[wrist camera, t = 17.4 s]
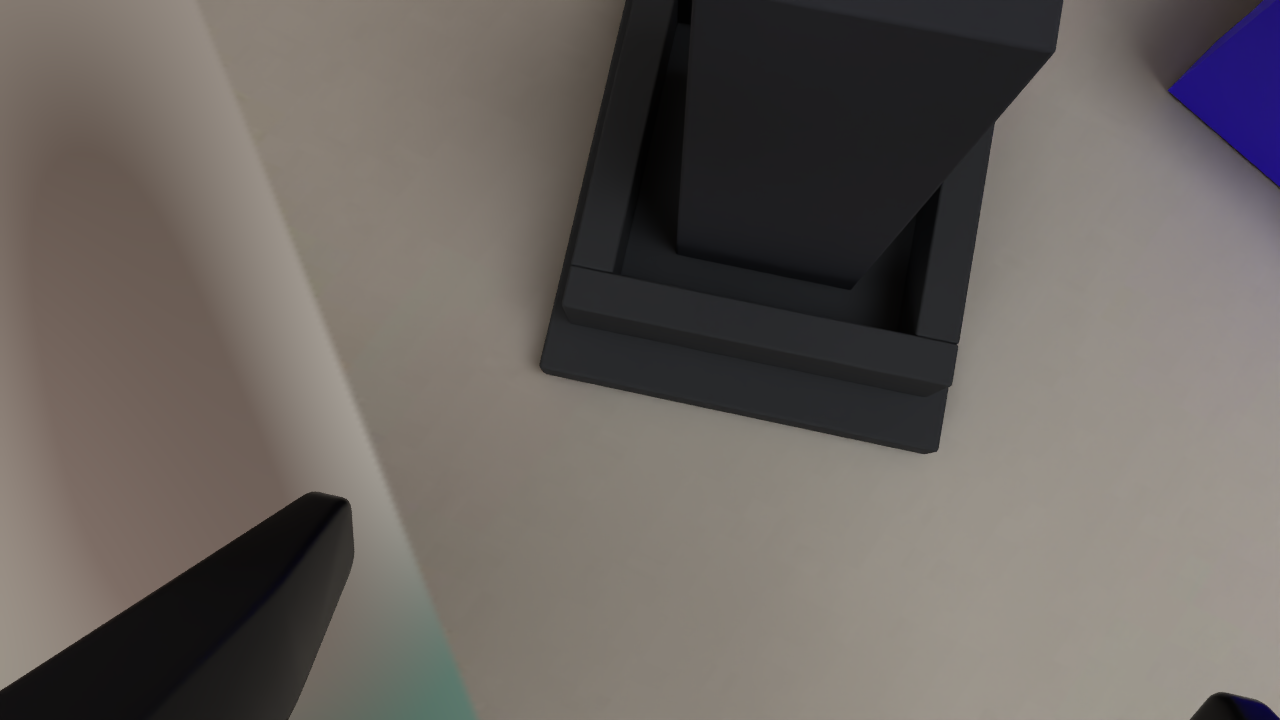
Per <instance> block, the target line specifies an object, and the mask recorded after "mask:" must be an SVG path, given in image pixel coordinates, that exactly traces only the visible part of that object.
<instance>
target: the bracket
mask: <svg viewBox="0 0 1280 720" xmlns="http://www.w3.org/2000/svg"><path fill="white" fill-rule="evenodd" d="M1168 91H1169V92H1170V93H1171V94H1173V95H1174V96H1175V97H1176V98H1177V99H1178V100H1179V101H1181V102H1182V103H1183V104H1184V105H1185V106H1186V107H1188V108H1189V109H1190V110H1191V111H1192V112H1193V113H1195V114H1196V115H1197V116H1198V117H1199V118H1200V119H1201V120H1203V121H1204V122H1205V123H1206V124H1207V125H1208V126H1210V127H1211V128H1212V129H1213V130H1214V131H1215V132H1217V133H1218V134H1219V135H1220V136H1221V137H1222V138H1223V139H1225V140H1226V141H1227V142H1228V143H1229V144H1230V145H1232V146H1233V147H1234V148H1235V149H1236V150H1237V151H1239V152H1240V153H1241V154H1242V155H1243V156H1244V157H1246V158H1247V159H1248V160H1249V161H1250V162H1251V163H1252V164H1254V165H1255V166H1256V167H1257V168H1258V169H1259V170H1261V171H1262V172H1263V173H1264V174H1265V175H1266V176H1268V177H1269V178H1270V179H1271V180H1272V181H1273V182H1274V183H1276V184H1277V185H1278V186H1279V187H1280V0H1263V1H1262V2H1261V3H1260V4H1259V5H1258V6H1257V7H1256V8H1255V9H1254V10H1253V11H1251V12H1250V13H1249V14H1248V15H1247V16H1246V17H1244V18H1243V19H1242V20H1241V21H1240V22H1238V23H1237V24H1236V25H1235V26H1234V27H1233V28H1231V29H1230V30H1229V31H1228V32H1227V33H1225V34H1224V35H1223V36H1222V37H1221V38H1220V39H1218V40H1217V41H1216V42H1215V43H1214V44H1213V45H1212V46H1211V47H1210V48H1209V49H1208V50H1207V51H1206V52H1205V53H1204V54H1203V55H1202V56H1201V57H1200V58H1199V59H1198V60H1197V61H1196V62H1195V63H1194V64H1193V65H1192V66H1191V67H1190V68H1189V69H1188V70H1187V71H1186V72H1185V73H1184V74H1183V75H1182V76H1181V77H1180V78H1179V79H1178V80H1177V81H1176V82H1175V83H1174V84H1173V85H1172V86H1171V87H1170V88H1169V89H1168Z"/></svg>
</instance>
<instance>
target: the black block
mask: <svg viewBox="0 0 1280 720" xmlns="http://www.w3.org/2000/svg"><path fill="white" fill-rule="evenodd" d="M1062 5H1063V0H692V16H691V31H690V46H689V61H688V77H687V92H686V107H685V122H684V138H683V153H682V168H681V183H680V199H679V214H678V229H677V244H676V254H678V255H682V256H687V257H691V258H696V259H701V260H706V261H711V262H716V263H721V264H726V265H730V266H735V267H740V268H745V269H750V270H755V271H760V272H765V273H769V274H774V275H779V276H784V277H789V278H794V279H799V280H804V281H808V282H813V283H818V284H823V285H828V286H833V287H838V288H843V289H848V290H851V289H852V288H853V287H854V286H855V285H856V284H857V282H858V281H859V280H860V279H861V278H862V277H863V275H864V274H865V273H866V272H867V271H868V270H869V268H870V267H871V266H872V265H873V264H874V263H875V261H876V260H877V259H878V258H879V257H880V256H881V254H882V253H883V252H884V251H885V250H886V249H887V247H888V246H889V245H890V244H891V243H892V242H893V240H894V239H895V238H896V237H897V236H898V235H899V233H900V232H901V231H902V230H903V229H904V228H905V226H906V225H907V224H908V223H909V222H910V221H911V219H912V218H913V217H914V216H915V215H916V214H917V212H918V211H919V210H920V209H921V208H922V207H923V205H924V204H925V203H926V202H927V201H928V200H929V198H930V197H931V196H932V195H933V194H934V193H935V191H936V190H937V189H938V188H939V187H940V186H941V184H942V183H943V182H944V181H945V180H946V179H947V177H948V176H949V175H950V174H951V173H952V172H953V170H954V169H955V168H956V167H957V166H958V165H959V163H960V162H961V161H962V160H963V159H964V158H965V156H966V155H967V154H968V153H969V152H970V151H971V149H972V148H973V147H974V146H975V145H976V143H977V142H978V141H979V140H980V139H981V138H982V136H983V135H984V134H985V133H986V132H987V131H988V129H989V128H990V127H991V126H992V125H993V124H994V122H995V121H996V120H997V119H998V118H999V117H1000V115H1001V114H1002V113H1003V112H1004V111H1005V110H1006V108H1007V107H1008V106H1009V105H1010V104H1011V103H1012V101H1013V100H1014V99H1015V98H1016V97H1017V96H1018V94H1019V93H1020V92H1021V91H1022V90H1023V89H1024V87H1025V86H1026V85H1027V84H1028V83H1029V82H1030V80H1031V79H1032V78H1033V77H1034V76H1035V75H1036V73H1037V72H1038V71H1039V70H1040V69H1041V68H1042V66H1043V65H1044V64H1045V63H1046V62H1047V61H1048V59H1049V58H1050V57H1051V56H1052V55H1053V53H1054V52H1055V50H1056V44H1057V38H1058V31H1059V25H1060V18H1061V12H1062Z"/></svg>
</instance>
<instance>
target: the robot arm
mask: <svg viewBox="0 0 1280 720" xmlns="http://www.w3.org/2000/svg"><path fill="white" fill-rule="evenodd" d="M353 559H354V539H353V526H352V511H351V505H350V503H349V501H348V500H347V499H345V498H343V497H338V496H334V495H329V494H325V493H321V492H310V493H307V494H305V495H303V496H302V497H300V498H298V499H297V500H295V501H294V502H292V503H291V504H289V505H288V506H286V507H285V508H283V509H282V510H280V511H278V512H277V513H275V514H274V515H272V516H271V517H269V518H267V519H266V520H264V521H263V522H261V523H260V524H258V525H257V526H255V527H254V528H252V529H250V530H249V531H247V532H246V533H244V534H243V535H241V536H240V537H238V538H236V539H235V540H233V541H232V542H230V543H229V544H227V545H226V546H224V547H223V548H221V549H219V550H218V551H216V552H215V553H213V554H212V555H210V556H209V557H207V558H206V559H204V560H202V561H201V562H200V563H198V564H196V565H195V566H193V567H192V568H190V569H188V570H187V571H185V572H184V573H182V574H181V575H179V576H178V577H176V578H174V579H173V580H171V581H170V582H168V583H167V584H165V585H164V586H162V587H160V588H159V589H157V590H156V591H154V592H153V593H151V594H150V595H148V596H147V597H145V598H144V599H142V600H140V601H139V602H137V603H136V604H134V605H133V606H131V607H130V608H128V609H127V610H125V611H123V612H122V613H120V614H119V615H117V616H116V617H114V618H112V619H111V620H109V621H108V622H106V623H105V624H103V625H102V626H100V627H98V628H97V629H95V630H94V631H92V632H91V633H90V634H88V635H86V636H85V637H83V638H81V639H80V640H78V641H77V642H75V643H74V644H72V645H71V646H69V647H67V648H66V649H64V650H63V651H61V652H60V653H58V654H57V655H55V656H54V657H52V658H50V659H49V660H47V661H46V662H44V663H43V664H41V665H40V666H38V667H37V668H35V669H34V670H32V671H30V672H29V673H27V674H26V675H24V676H23V677H21V678H20V679H18V680H17V681H15V682H13V683H12V684H10V685H9V686H7V687H5V688H4V689H2V690H1V691H0V720H288V719H289V717H290V715H291V713H292V711H293V709H294V707H295V705H296V703H297V701H298V698H299V696H300V694H301V691H302V689H303V687H304V684H305V682H306V680H307V677H308V675H309V672H310V670H311V668H312V665H313V662H314V660H315V658H316V655H317V653H318V650H319V648H320V645H321V643H322V640H323V638H324V635H325V633H326V631H327V628H328V626H329V623H330V621H331V618H332V615H333V613H334V611H335V608H336V606H337V603H338V601H339V598H340V596H341V593H342V591H343V589H344V586H345V584H346V581H347V579H348V576H349V574H350V571H351V567H352V564H353ZM1190 720H1280V718H1279V717H1278V716H1277V715H1276V714H1275V713H1274V712H1273V711H1272V710H1271V709H1270V708H1269V707H1268V706H1267V705H1265V704H1264V703H1262V702H1260V701H1258V700H1255V699H1252V698H1248V697H1243V696H1238V695H1234V694H1229V693H1225V692H1219V693H1216V694H1213V695H1211V696H1210V697H1209V698H1208V699H1207V700H1206V701H1205V702H1204V704H1203V705H1202V706H1201V707H1200V708H1199V709H1198V711H1197V712H1196V713H1195V714H1194V715H1193V717H1192V718H1191V719H1190Z"/></svg>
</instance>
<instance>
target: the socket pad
mask: <svg viewBox="0 0 1280 720" xmlns="http://www.w3.org/2000/svg"><path fill="white" fill-rule="evenodd" d="M691 16H692V0H626V2H625V6H624V10H623V15H622V19H621V23H620V27H619V32H618V36H617V40H616V44H615V48H614V53H613V57H612V61H611V65H610V70H609V74H608V78H607V82H606V86H605V91H604V95H603V99H602V103H601V107H600V112H599V116H598V120H597V124H596V129H595V133H594V137H593V141H592V145H591V150H590V154H589V158H588V162H587V167H586V171H585V175H584V179H583V183H582V188H581V192H580V196H579V200H578V205H577V209H576V213H575V217H574V221H573V226H572V230H571V234H570V238H569V243H568V247H567V251H566V255H565V259H564V264H563V268H562V272H561V276H560V280H559V285H558V289H557V293H556V297H555V302H554V306H553V310H552V314H551V318H550V323H549V327H548V331H547V335H546V340H545V344H544V348H543V352H542V356H541V361H540V368H541V369H542V370H543V372H544V373H546V374H549V375H554V376H558V377H563V378H568V379H572V380H577V381H582V382H587V383H591V384H596V385H601V386H605V387H610V388H615V389H620V390H624V391H629V392H634V393H638V394H643V395H648V396H653V397H657V398H662V399H667V400H671V401H676V402H681V403H686V404H690V405H695V406H700V407H704V408H709V409H714V410H719V411H723V412H728V413H733V414H737V415H742V416H747V417H752V418H756V419H761V420H766V421H770V422H775V423H780V424H785V425H789V426H794V427H799V428H803V429H808V430H813V431H818V432H822V433H827V434H832V435H836V436H841V437H846V438H851V439H855V440H860V441H865V442H869V443H874V444H879V445H884V446H888V447H893V448H898V449H902V450H907V451H912V452H917V453H921V454H928V453H932V452H937V450H938V448H939V442H940V436H941V430H942V424H943V417H944V411H945V405H946V399H947V393H948V387H950V386H951V385H952V382H953V376H954V369H955V363H956V357H957V351H958V345H956V344H958V343H959V339H960V333H961V327H962V321H963V314H964V308H965V302H966V296H967V290H968V284H969V278H970V271H971V265H972V259H973V253H974V247H975V241H976V234H977V228H978V222H979V216H980V210H981V204H982V198H983V191H984V185H985V179H986V173H987V167H988V161H989V155H990V148H991V142H992V136H993V130H994V124H995V122H994V124H993V125H992V126H991V127H990V128H989V129H988V131H987V132H986V133H985V134H984V135H983V136H982V138H981V139H980V140H979V141H978V142H977V143H976V145H975V146H974V147H973V148H972V149H971V151H970V152H969V153H968V154H967V155H966V156H965V158H964V159H963V160H962V161H961V162H960V163H959V165H958V166H957V167H956V168H955V169H954V170H953V172H952V173H951V174H950V175H949V176H948V177H947V179H946V180H945V181H944V182H943V183H942V184H941V186H940V187H939V188H938V189H937V190H936V191H935V193H934V194H933V195H932V196H931V197H930V198H929V200H928V201H927V202H926V203H925V204H924V205H923V207H922V208H921V209H920V210H919V211H918V212H917V214H916V215H915V216H914V217H913V218H912V219H911V221H910V222H909V223H908V224H907V225H906V226H905V228H904V229H903V230H902V231H901V232H900V233H899V235H898V236H897V237H896V238H895V239H894V240H893V242H892V243H891V244H890V245H889V246H888V247H887V249H886V250H885V251H884V252H883V253H882V254H881V256H880V257H879V258H878V259H877V260H876V261H875V263H874V264H873V265H872V266H871V267H870V268H869V270H868V271H867V272H866V273H865V274H864V275H863V277H862V278H861V279H860V280H859V281H858V282H857V284H856V285H855V286H854V287H853V288H852V289H851V290H848V289H843V288H838V287H833V286H828V285H823V284H818V283H813V282H808V281H804V280H799V279H794V278H789V277H784V276H779V275H774V274H769V273H765V272H760V271H755V270H750V269H745V268H740V267H735V266H730V265H726V264H721V263H716V262H711V261H706V260H701V259H696V258H691V257H687V256H682V255H678V254H676V244H677V229H678V214H679V199H680V183H681V168H682V153H683V138H684V122H685V107H686V92H687V77H688V61H689V46H690V31H691Z"/></svg>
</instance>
